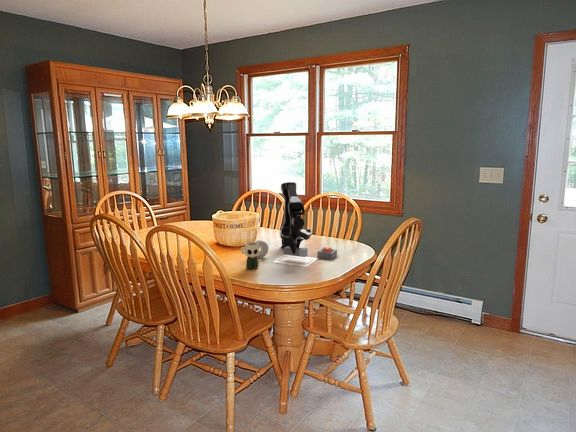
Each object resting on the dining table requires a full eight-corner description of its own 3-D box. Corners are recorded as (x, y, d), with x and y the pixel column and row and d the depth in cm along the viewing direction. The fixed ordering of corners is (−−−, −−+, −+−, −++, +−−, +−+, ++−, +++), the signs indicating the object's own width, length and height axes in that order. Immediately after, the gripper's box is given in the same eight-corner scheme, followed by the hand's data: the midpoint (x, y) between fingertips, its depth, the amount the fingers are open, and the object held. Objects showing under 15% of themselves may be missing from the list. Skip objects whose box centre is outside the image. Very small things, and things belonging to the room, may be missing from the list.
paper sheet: (271, 262, 227) (271, 261, 227) (285, 254, 242) (285, 254, 242) (306, 266, 218) (306, 266, 218) (318, 258, 233) (318, 258, 233)
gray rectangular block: (284, 254, 231) (284, 247, 230) (287, 252, 234) (287, 245, 233) (304, 257, 225) (304, 250, 225) (307, 255, 229) (307, 248, 228)
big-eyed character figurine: (242, 270, 212) (241, 245, 210) (241, 266, 219) (240, 242, 217) (263, 269, 214) (263, 244, 212) (262, 265, 221) (261, 241, 219)
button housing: (317, 257, 235) (317, 251, 234) (322, 253, 242) (322, 248, 242) (331, 259, 231) (331, 253, 231) (336, 255, 239) (337, 249, 238)
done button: (321, 254, 236) (321, 248, 235) (324, 252, 240) (324, 246, 239) (329, 255, 234) (329, 249, 233) (332, 253, 238) (332, 247, 237)
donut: (268, 256, 238) (268, 239, 236) (268, 258, 234) (268, 240, 233) (250, 257, 236) (249, 239, 234) (250, 259, 233) (250, 241, 231)
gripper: (302, 229, 215) (302, 259, 218) (316, 222, 231) (315, 250, 234) (282, 227, 220) (282, 256, 223) (297, 220, 236) (297, 248, 239)
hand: (295, 252), depth 229 cm, fingers closed on gray rectangular block, 3 cm apart
